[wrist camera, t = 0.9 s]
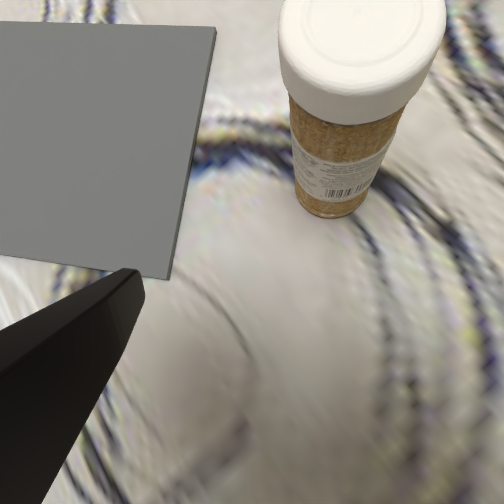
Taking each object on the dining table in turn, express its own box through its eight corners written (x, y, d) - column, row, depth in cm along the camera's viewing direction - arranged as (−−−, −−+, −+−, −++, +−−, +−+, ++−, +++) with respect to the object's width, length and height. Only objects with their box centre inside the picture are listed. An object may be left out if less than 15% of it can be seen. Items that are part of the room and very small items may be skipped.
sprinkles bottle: (365, 150, 23) (445, -73, 10) (368, 220, 22) (460, 81, 9) (293, 153, 24) (275, -49, 10) (293, 221, 23) (276, 95, 10)
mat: (168, 280, 23) (166, 279, 23) (-63, 244, 26) (-70, 243, 26) (216, 32, 26) (215, 26, 25) (1, 25, 29) (-5, 20, 28)
